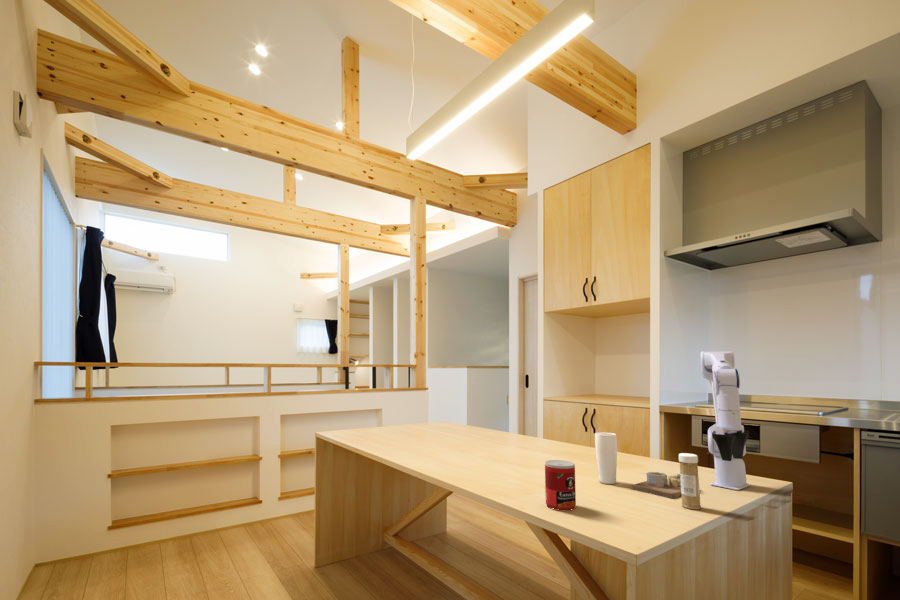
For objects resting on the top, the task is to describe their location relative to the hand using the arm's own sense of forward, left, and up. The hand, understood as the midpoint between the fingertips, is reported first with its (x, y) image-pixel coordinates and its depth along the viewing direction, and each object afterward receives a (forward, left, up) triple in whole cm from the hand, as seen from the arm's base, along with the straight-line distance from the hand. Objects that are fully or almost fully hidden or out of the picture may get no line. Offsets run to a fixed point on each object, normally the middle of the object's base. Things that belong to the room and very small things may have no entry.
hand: (732, 459), depth 131 cm
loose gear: (+9, -18, -9) cm, 22 cm away
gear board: (+7, -16, -10) cm, 21 cm away
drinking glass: (+14, -31, -11) cm, 36 cm away
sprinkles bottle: (+19, -3, -11) cm, 22 cm away
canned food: (+46, -24, -11) cm, 53 cm away
